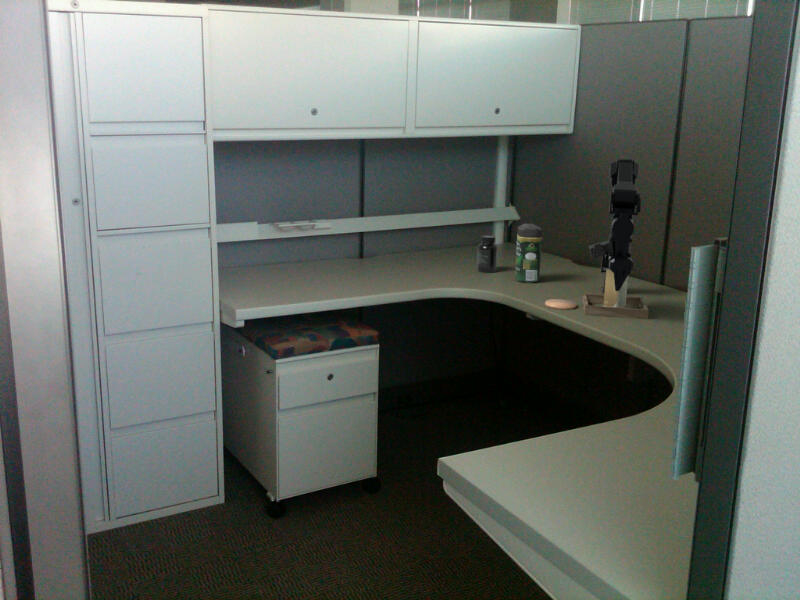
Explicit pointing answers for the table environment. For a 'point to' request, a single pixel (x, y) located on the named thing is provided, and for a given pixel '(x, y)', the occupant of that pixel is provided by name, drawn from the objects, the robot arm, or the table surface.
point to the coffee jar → (528, 253)
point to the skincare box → (614, 292)
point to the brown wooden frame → (615, 310)
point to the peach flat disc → (560, 304)
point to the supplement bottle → (487, 255)
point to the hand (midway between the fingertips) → (616, 287)
